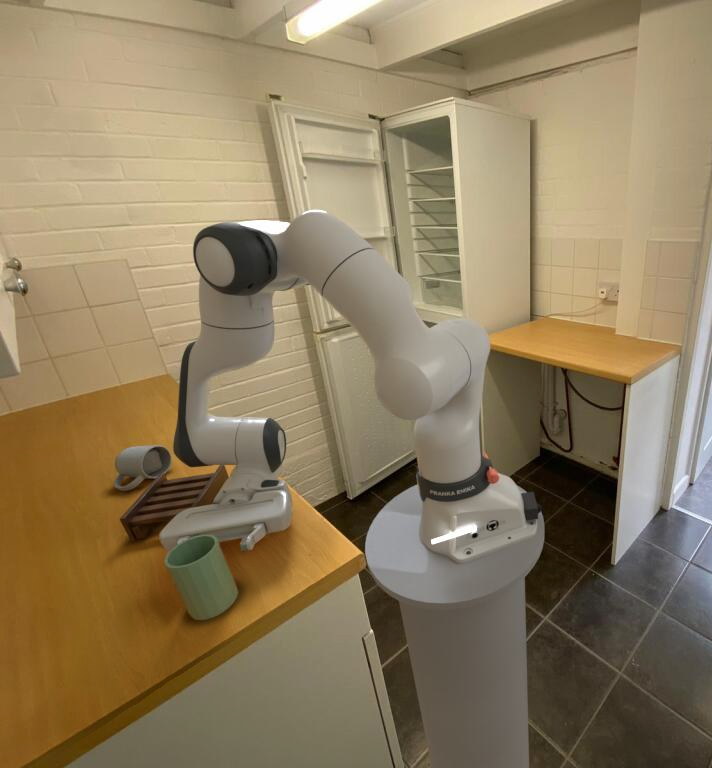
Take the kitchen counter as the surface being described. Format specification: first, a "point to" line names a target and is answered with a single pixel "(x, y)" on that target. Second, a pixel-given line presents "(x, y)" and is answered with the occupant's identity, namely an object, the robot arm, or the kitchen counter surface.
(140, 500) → the rack
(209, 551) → the tumbler
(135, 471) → the ceramic mug
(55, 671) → the kitchen counter surface
